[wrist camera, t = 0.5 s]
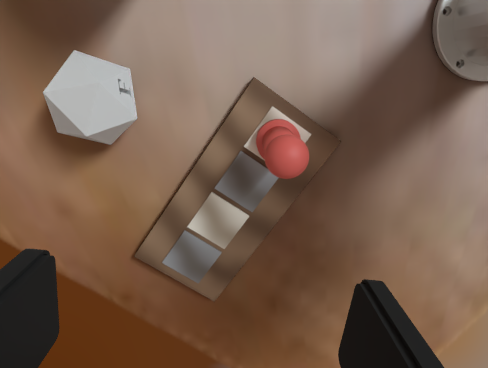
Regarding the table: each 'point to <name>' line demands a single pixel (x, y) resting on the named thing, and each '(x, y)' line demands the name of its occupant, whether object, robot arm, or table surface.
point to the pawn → (282, 148)
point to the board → (231, 196)
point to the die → (91, 98)
